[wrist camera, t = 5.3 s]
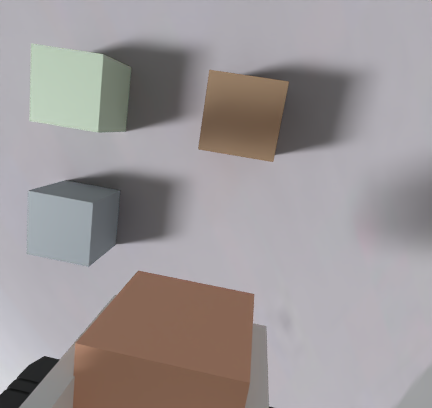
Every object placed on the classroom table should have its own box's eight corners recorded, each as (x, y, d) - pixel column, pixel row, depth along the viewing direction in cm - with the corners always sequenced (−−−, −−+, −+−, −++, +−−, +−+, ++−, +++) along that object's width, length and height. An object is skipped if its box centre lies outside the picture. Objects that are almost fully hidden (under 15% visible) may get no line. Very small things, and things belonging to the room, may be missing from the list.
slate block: (66, 180, 29) (27, 190, 24) (120, 190, 29) (93, 202, 24) (63, 234, 30) (26, 254, 26) (116, 244, 30) (88, 266, 25)
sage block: (72, 58, 27) (31, 43, 22) (131, 67, 26) (103, 54, 22) (69, 122, 28) (29, 120, 23) (126, 131, 28) (97, 132, 23)
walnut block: (218, 80, 26) (209, 69, 21) (283, 90, 25) (289, 81, 21) (209, 145, 27) (198, 149, 22) (270, 155, 27) (273, 162, 22)
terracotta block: (138, 270, 14) (75, 343, 10) (254, 294, 14) (249, 383, 9) (128, 369, 16) (67, 478, 11) (234, 394, 15) (221, 520, 10)
